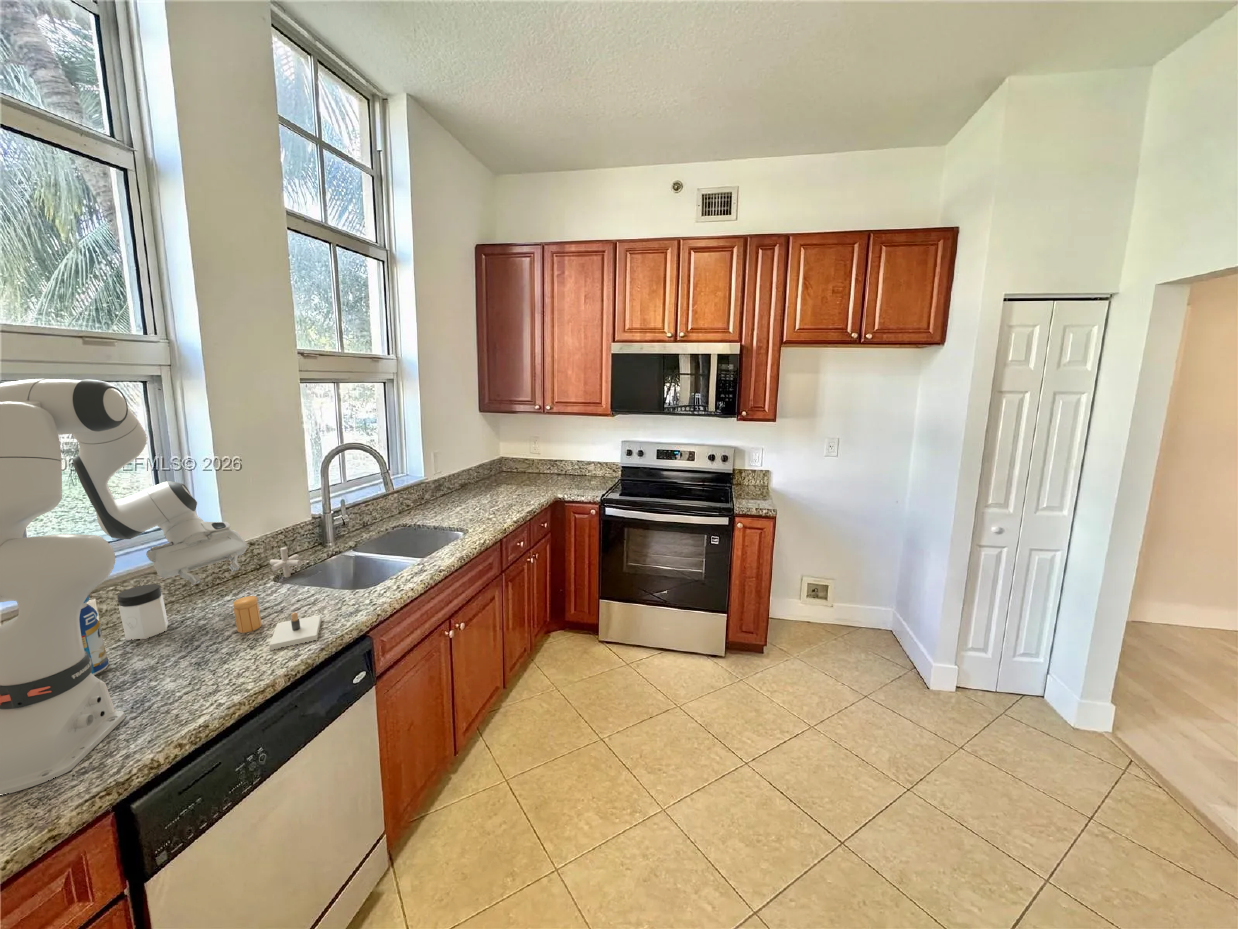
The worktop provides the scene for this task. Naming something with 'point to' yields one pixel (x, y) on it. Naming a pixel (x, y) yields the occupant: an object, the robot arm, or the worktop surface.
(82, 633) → the beverage bottle
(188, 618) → the worktop surface
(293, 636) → the board
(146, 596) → the jar
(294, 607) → the worktop surface
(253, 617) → the fluted domed cylinder
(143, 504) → the robot arm
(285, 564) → the pipe connector
